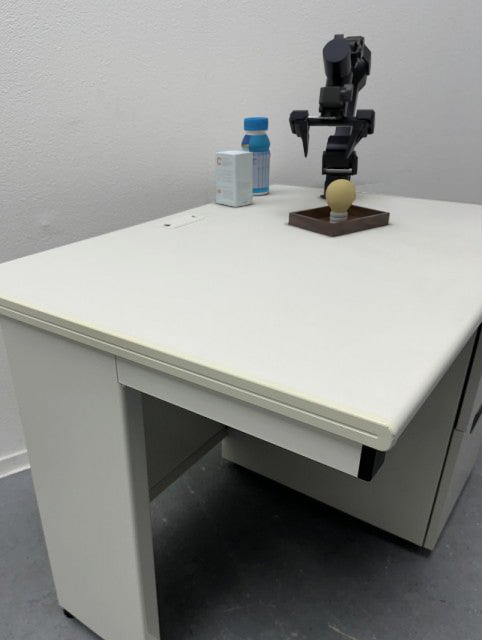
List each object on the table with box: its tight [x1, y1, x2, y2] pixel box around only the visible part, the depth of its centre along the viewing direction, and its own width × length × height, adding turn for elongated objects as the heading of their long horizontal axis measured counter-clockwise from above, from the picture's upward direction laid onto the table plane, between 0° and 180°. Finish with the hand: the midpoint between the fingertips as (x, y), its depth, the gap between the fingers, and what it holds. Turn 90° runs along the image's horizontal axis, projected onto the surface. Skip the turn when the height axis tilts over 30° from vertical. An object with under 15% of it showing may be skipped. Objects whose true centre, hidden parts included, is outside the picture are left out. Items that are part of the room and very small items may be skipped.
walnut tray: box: [287, 204, 391, 238], centre depth 123 cm, size 17×14×3 cm
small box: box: [215, 149, 254, 208], centre depth 144 cm, size 8×6×13 cm
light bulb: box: [325, 179, 357, 224], centre depth 119 cm, size 6×6×10 cm
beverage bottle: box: [240, 116, 272, 196], centre depth 154 cm, size 8×8×20 cm
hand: (325, 157), depth 123 cm, fingers open, 9 cm apart
